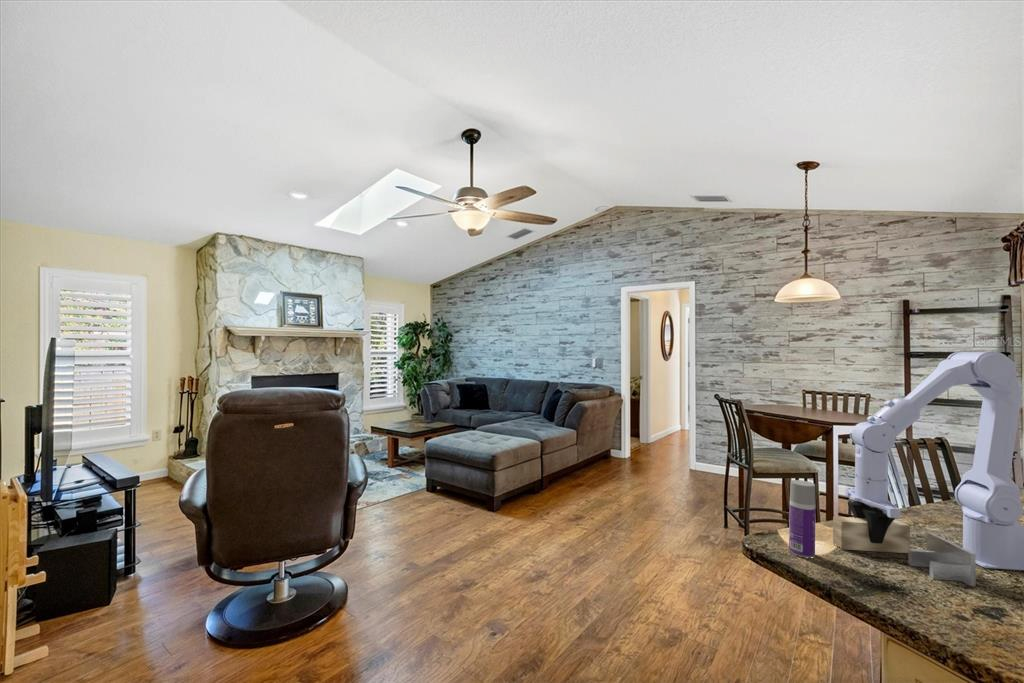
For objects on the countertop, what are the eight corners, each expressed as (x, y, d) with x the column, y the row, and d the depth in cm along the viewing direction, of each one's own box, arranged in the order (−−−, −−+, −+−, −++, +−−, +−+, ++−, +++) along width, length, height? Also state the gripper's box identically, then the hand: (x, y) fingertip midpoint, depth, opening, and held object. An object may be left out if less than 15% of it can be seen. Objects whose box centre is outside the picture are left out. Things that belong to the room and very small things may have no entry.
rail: (899, 547, 101) (899, 520, 101) (909, 553, 98) (910, 525, 98) (832, 543, 102) (833, 516, 103) (841, 549, 99) (841, 521, 100)
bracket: (933, 561, 95) (933, 532, 95) (978, 586, 85) (978, 554, 85) (901, 559, 95) (901, 530, 95) (941, 584, 85) (942, 551, 85)
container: (819, 559, 94) (820, 487, 94) (794, 557, 95) (795, 485, 95) (809, 550, 99) (810, 480, 99) (785, 547, 100) (786, 479, 100)
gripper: (832, 468, 108) (831, 525, 108) (875, 486, 94) (874, 552, 93) (863, 469, 108) (863, 527, 107) (911, 488, 93) (911, 554, 93)
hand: (870, 539), depth 100 cm, fingers closed on rail, 3 cm apart
